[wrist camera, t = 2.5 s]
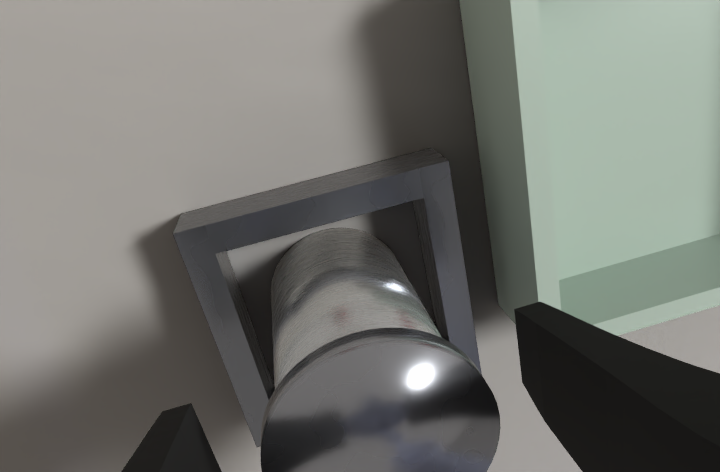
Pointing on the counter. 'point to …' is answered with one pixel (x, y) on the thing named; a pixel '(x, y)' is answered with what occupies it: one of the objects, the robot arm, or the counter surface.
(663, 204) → the bin
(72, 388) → the counter surface
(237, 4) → the counter surface
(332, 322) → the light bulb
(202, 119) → the counter surface
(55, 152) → the counter surface
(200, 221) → the socket collar
